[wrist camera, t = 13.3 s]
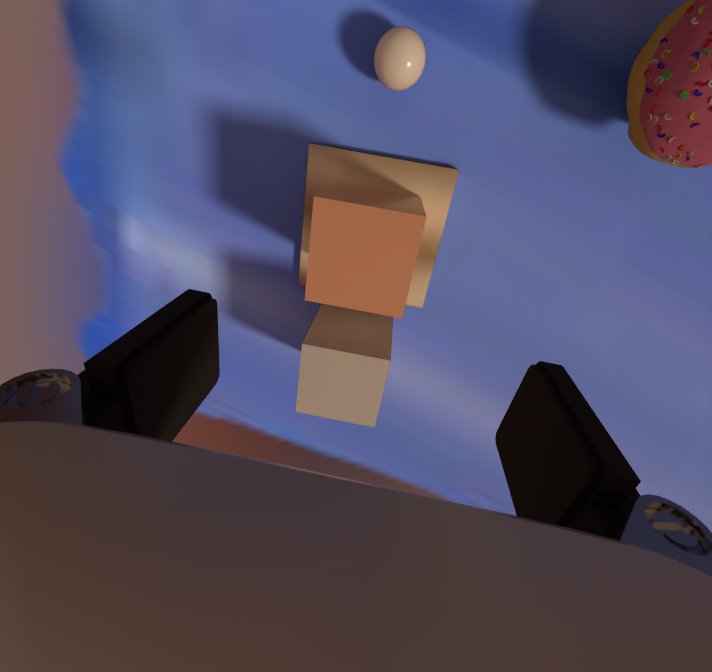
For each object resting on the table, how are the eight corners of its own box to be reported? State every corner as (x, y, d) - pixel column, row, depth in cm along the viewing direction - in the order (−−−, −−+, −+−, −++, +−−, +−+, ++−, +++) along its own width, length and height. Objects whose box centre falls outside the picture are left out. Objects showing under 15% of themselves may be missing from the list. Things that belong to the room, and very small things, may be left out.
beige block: (323, 300, 32) (302, 343, 25) (393, 313, 32) (390, 360, 25) (316, 358, 36) (295, 412, 29) (380, 371, 35) (374, 427, 28)
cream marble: (380, 29, 23) (377, 14, 20) (429, 38, 23) (433, 23, 20) (371, 89, 25) (367, 82, 22) (417, 97, 24) (419, 91, 22)
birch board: (311, 143, 27) (309, 143, 26) (457, 169, 26) (459, 170, 26) (299, 282, 32) (298, 284, 31) (422, 305, 32) (422, 307, 31)
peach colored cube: (336, 182, 27) (313, 196, 20) (420, 196, 27) (426, 216, 20) (327, 263, 30) (304, 300, 23) (402, 277, 30) (402, 318, 23)
